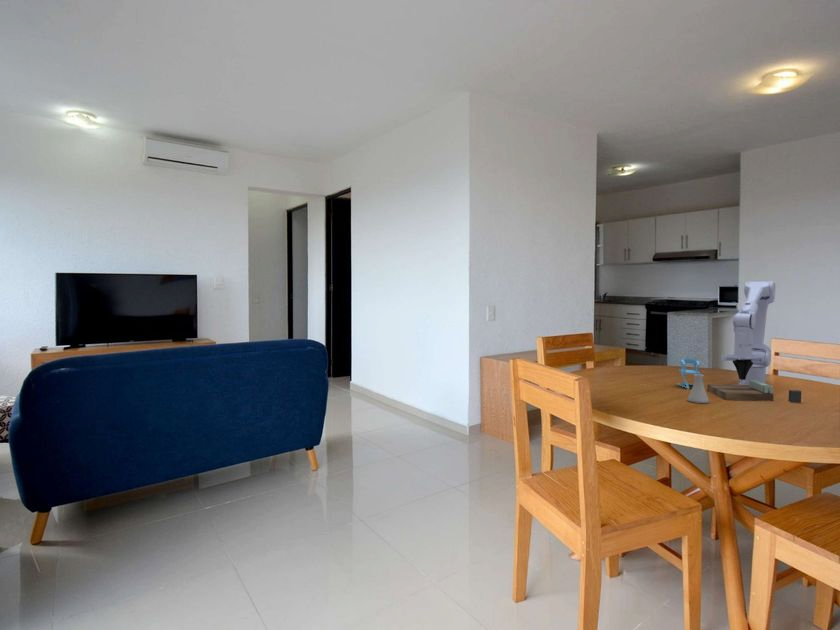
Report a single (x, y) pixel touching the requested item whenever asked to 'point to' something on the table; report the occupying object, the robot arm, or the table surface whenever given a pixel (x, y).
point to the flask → (698, 391)
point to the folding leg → (761, 386)
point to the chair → (684, 371)
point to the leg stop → (794, 396)
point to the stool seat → (739, 392)
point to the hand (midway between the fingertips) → (742, 379)
